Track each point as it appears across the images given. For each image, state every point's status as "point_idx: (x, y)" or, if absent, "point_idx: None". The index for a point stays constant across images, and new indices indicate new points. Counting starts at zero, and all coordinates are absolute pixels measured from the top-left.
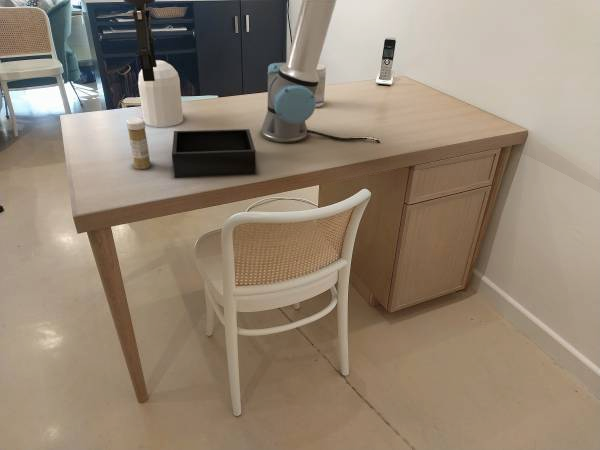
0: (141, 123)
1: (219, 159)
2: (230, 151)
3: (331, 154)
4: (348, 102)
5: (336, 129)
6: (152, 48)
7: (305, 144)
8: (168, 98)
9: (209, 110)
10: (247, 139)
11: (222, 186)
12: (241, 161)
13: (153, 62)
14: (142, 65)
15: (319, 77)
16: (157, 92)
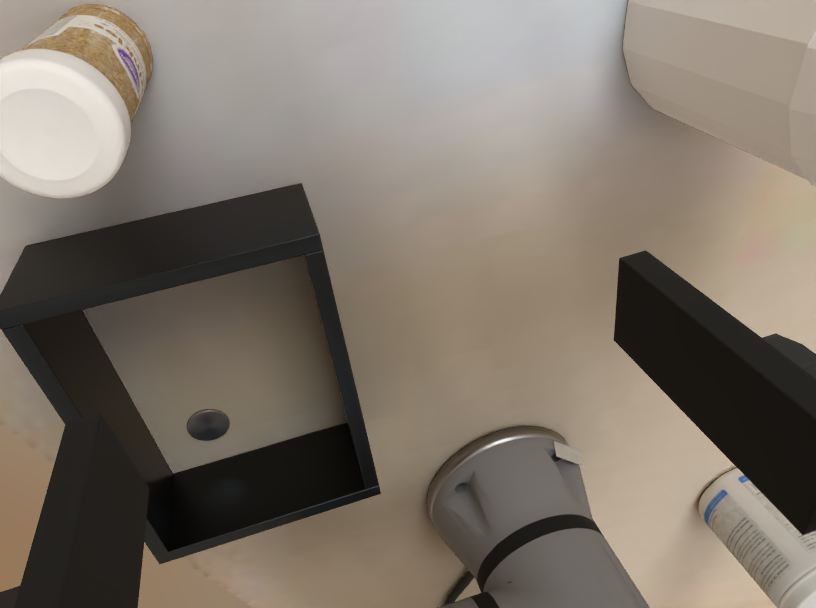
0: (26, 190)
1: None
2: None
3: (353, 599)
4: (715, 555)
5: None
6: (750, 464)
7: (420, 539)
8: (733, 117)
9: (774, 204)
10: (319, 485)
11: (21, 425)
12: None
13: (643, 349)
14: (30, 594)
15: (768, 594)
16: (768, 67)
